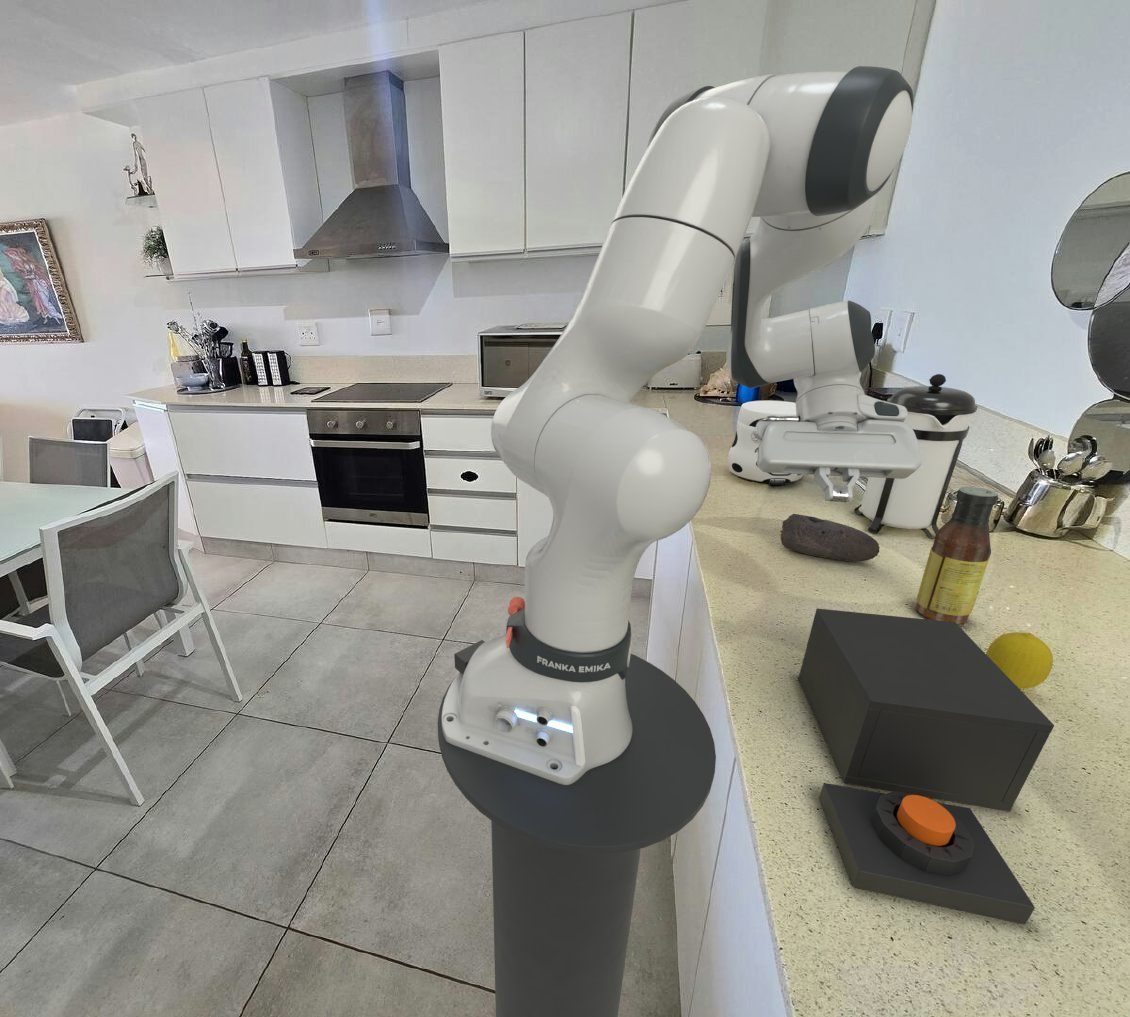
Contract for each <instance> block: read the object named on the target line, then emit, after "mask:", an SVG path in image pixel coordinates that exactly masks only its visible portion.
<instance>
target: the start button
mask: <svg viewBox="0 0 1130 1017" xmlns="http://www.w3.org/2000/svg"><path fill="white" fill-rule="evenodd" d="M938 803H939V802H937V801H935V800H933V799H932V798H929V797H923V796H919V795H908V796H906V797H904V798H903V800H902V802H901V805H900V807H899V810H898V812H897V819H898V822H899V824H900V825H901V826H902V828H903V829H904V830H905V831H906V832H907V833H909V834H910V835H911V836H913V837H914V838H916V839H917V840H919V841H921V842H924V843H926V844H929V845H934V846H943V845H946V844H947V843H948V842H949V840H950V838H951V836H952V834H953V832H954V829H955V827H956V824H955V820H954V818H953V817H952V815H951V814H950V813H949V812H948V811H947V810H946V809H945V808H944V807H943V806H941V805H940V804H938Z"/></svg>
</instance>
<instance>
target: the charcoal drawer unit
mask: <svg viewBox="0 0 1130 1017" xmlns="http://www.w3.org/2000/svg"><path fill="white" fill-rule="evenodd" d="M797 681H798V683H799V685H800V687H801V690H802V692H803V694H804V697H805V699H806V701H807V703H808V706H809V708H810V710H811V713H812V715H813V717H814V719H815V722H816V724H817V726H818V729H819V730H820V733H821V734H822V737H823V739H824V742H825V743H826V744H825V745H826V746H827V748H828V750H829V753H830V755H831V757H832V760H833V762H834V764H835V766H836V768H837V771H838V773H839V776H840V777H841V780H842V782H843V783H844V784H848V785H853V786H854V785H855V786H859V787H865V788H872V789H877V790H884V791H889V792H894V791H898V792H904V793H910V794H915V795H919V796H923V797H926V798H929V799H935V800H941V801H947V802H951V803H957V804H958V803H959V804H962V805H963V804H964V805H970V806H975V807H981V808H987V809H992V810H999V811H1005V812H1011V810H1012V809H1013V807H1014V804H1015V803H1016V800H1017V798H1018V797H1019V795H1020V793H1021V791H1022V789H1023V787H1024V785H1025V783H1026V781H1027V780H1028V777H1029V775H1030V774H1031V771H1032V770H1033V768H1034V766H1035V764H1036V762H1037V760H1038V758H1039V756H1040V755H1041V753H1042V750H1043V748H1044V747H1045V744H1046V743H1047V740H1048V738H1049V737H1050V734H1051V733H1052V731H1053V729H1054V727H1055V724H1054V723H1053V722H1052V721H1051V720H1050V719H1049V718H1048V717H1047V716H1046V715H1045V714H1044V712H1042V711H1041V710H1040V709H1039V708H1038V707H1037V706H1036V704H1035V703H1033V701H1031V699H1030V698H1029V697H1028V696H1027V695H1026V694H1025V693H1024V692H1023V691H1022V689H1019V688H1018V687H1017V686H1016V685H1015V684H1014V683H1013V682H1012V681H1011V680H1010V679H1009V678H1008V677H1007V676H1006V675H1005V674H1004V672H1003V671H1002V670H1001V669H1000V668H999V667H998V666H997V665H996V664H995V663H994V662H993V661H992V660H991V659H990V658H989V657H988V656H987V655H986V652H985V651H983V649H982V648H981V647H980V646H979V645H978V644H977V643H976V642H975V641H974V640H973V639H972V638H971V637H970V636H969V635H968V634H967V633H966V632H965V631H964V630H963V629H962V628H961V627H960V625H957V624H956V623H955V622H948V621H938V620H930V619H928V618H918V617H907V616H899V615H898V616H897V615H887V614H878V613H877V614H876V613H868V612H857V611H849V610H848V611H847V610H838V609H829V608H827V609H826V608H818V607H817V608H816V609H815V612H814V617H813V621H812V625H811V629H810V632H809V636H808V640H807V644H806V648H805V651H804V655H803V659H802V663H801V666H800V670H799V675H798V679H797Z"/></svg>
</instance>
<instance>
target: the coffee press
mask: <svg viewBox="0 0 1130 1017" xmlns="http://www.w3.org/2000/svg"><path fill="white" fill-rule="evenodd" d="M928 381H929V384H930V385H915V386H914V385H913V386H908V387H904V388H903V387H902V388H901V389H898V390H896V391H895V392H894V393H893V394H891V396H890V397H889V398H887V400H886V402H889V403H893V404H898V405H901V406H904V407H905V408H906V409H907V412H908V416H907V418H906V419H905V420H904V423H906V424H908V425H909V426H910V427H911V428H912V429H913V431H914V433H915V435H916V438H917V441H918V445H919V449H920V454H921V465H920V467H919V468H918V469H917V470H916V471H915V472H914V473H913V474H911V475H910V476H908V477H907V478H904V479H898V478H877V477H867V478H868V479H867V481H866V482H867V483H866V485H865V490H864V494H863V498H862V501H861V503H860V504H859V505H857V506H856V507H854V509H853V512H854V513H855V514H856V515H863V516H864V517H866V518H868V519H869V520H870V521H871V523H870V525H868V528H867V529H868V532H871V533H874V534H876V535H877V534H878V533H880V531H881V530H882V529H883V528H884V527H885V526H887V527H892V528H896V529H903V530H920V531H922V532H924V535H925V536H926V537H927V538H928V539H931V540H935V536H936V533H937V531H938V530H939V529H940V528H939V527H938V524H937V522H938V519H939V515H940V512H941V509H942V507H943V505H944V504H943V503H944V500H945V498H946V495H947V491H948V488H949V486H950V483H951V480H952V477H953V474H954V470H955V467H956V464H957V461H958V459H959V455H960V453H961V450H962V447H963V443H964V441H965V439H966V438H967V436H968V434H969V431H970V422H971V419H972V417H973V415H974V414H975V413H977V411H978V408H979V407H978V405H977V404H976V400H975V399H976V398H974V396H973V395H971V394H970V393H969V392H967V391H965V390H961V389H957V388H952V387H945V386H944V387H943V385H945V383H946V382H947V379H946V376H945V375H944V374H941V373H937V374H933V375H932V376H931V377H930V378H929V379H928ZM860 510H861V511H860ZM929 527H931V528H932V530H933V532H934V535H933V534H932V533H931V531H930V530H929V529H928V528H929Z"/></svg>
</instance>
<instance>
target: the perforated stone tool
mask: <svg viewBox="0 0 1130 1017" xmlns="http://www.w3.org/2000/svg"><path fill="white" fill-rule="evenodd" d="M781 523H782V526H781V530H780V531H779V533H780V542H781V545H782V546H783V547H784V548H785V549H789V550H791V551H794V552H797V553H799V554H800V553H801V554H804V555H807V556H815V557H818V558H819V557H820V558H824V559H831V560H837V561H844V562H857V563H858V562H867V561H870V560H873V559H874V558H876V557H877V556H879V553H880V544H879V542H878V540H876V539H875V538H874V537H872V536H871V535H869V534H868V533H867V532H864V531H862V530H860V529H857V528H855V527H853V526H850V525H846V524H843V523H840V522H836V521H832V520H830V519H823V518H819V517H816V516H812V515H811V516H810V515H804V514H798V513H792V514H791V515H789V516H788V517H787V518H786V519H785V520H783V521H782V522H781Z"/></svg>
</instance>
